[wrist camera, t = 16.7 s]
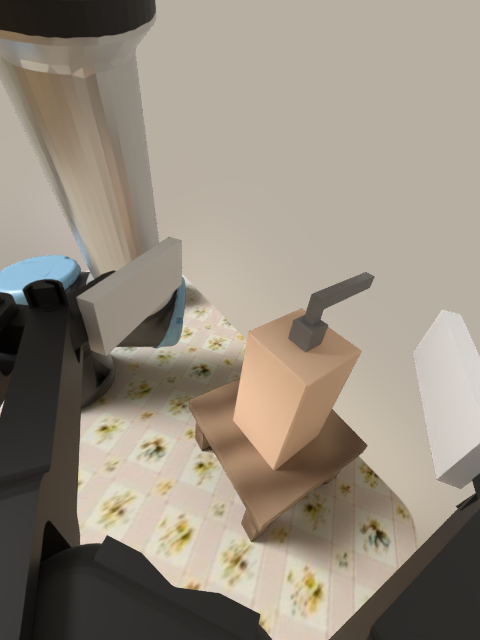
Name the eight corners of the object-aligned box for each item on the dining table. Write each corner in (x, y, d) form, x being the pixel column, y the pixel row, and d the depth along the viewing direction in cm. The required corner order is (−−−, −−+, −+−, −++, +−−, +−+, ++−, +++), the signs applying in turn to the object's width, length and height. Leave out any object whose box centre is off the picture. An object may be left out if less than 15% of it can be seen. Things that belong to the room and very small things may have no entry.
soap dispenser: (274, 471, 36) (328, 337, 22) (232, 419, 41) (255, 284, 27) (337, 419, 43) (407, 293, 29) (294, 380, 47) (338, 257, 34)
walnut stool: (188, 436, 48) (189, 400, 42) (273, 394, 57) (284, 359, 51) (249, 552, 37) (262, 525, 31) (343, 478, 46) (367, 445, 40)
